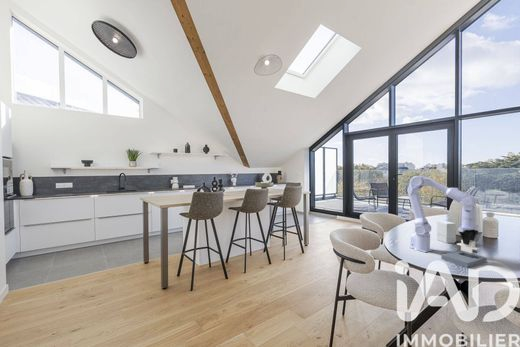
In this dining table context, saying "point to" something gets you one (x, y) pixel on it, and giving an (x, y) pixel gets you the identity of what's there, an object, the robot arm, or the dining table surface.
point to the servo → (468, 247)
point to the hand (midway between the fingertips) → (468, 243)
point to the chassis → (464, 258)
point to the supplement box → (446, 231)
